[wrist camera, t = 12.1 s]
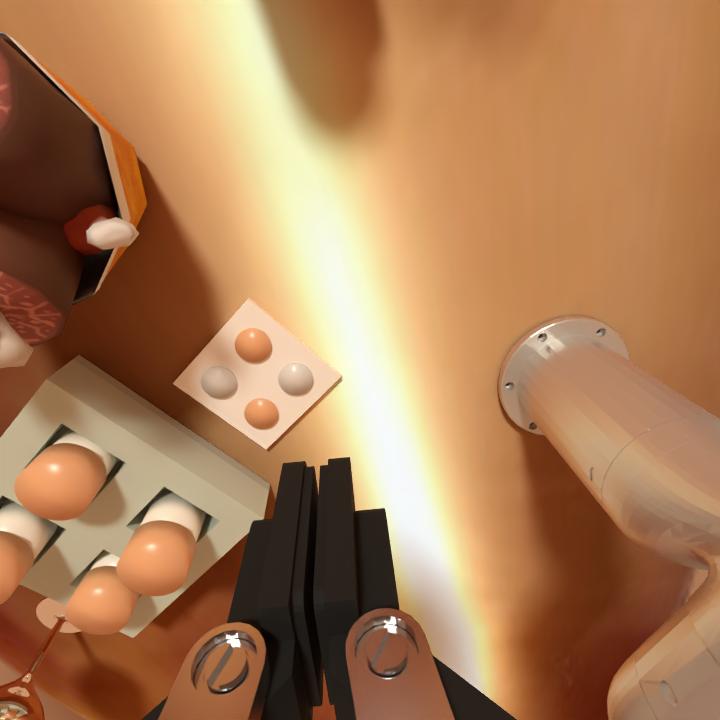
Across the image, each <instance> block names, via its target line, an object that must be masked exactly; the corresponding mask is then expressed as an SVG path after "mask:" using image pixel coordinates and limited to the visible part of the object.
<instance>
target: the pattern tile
mask: <svg viewBox="0 0 720 720" xmlns="http://www.w3.org/2000/svg"><path fill="white" fill-rule="evenodd" d="M340 377H341V374H340V373H339V372H338V371H337V370H336V369H334V368H333V367H332V366H331V365H330V364H328V363H327V362H326V361H325V360H324V359H322V358H321V357H320V356H319V355H318V354H316V353H315V352H314V351H313V350H312V349H310V348H309V347H308V346H307V345H306V344H304V343H303V342H302V341H301V340H300V339H298V338H297V337H296V336H295V335H294V334H292V333H291V332H290V331H289V330H288V329H286V328H285V327H284V326H283V325H282V324H280V323H279V322H278V321H277V320H276V319H274V318H273V317H272V316H271V315H270V314H268V313H267V312H266V311H265V310H264V309H262V308H261V307H260V306H259V305H258V304H256V303H255V302H254V301H253V300H252V299H251V298H248V299H247V300H246V301H245V302H244V304H243V305H242V306H241V307H240V308H239V309H238V310H237V311H236V312H235V314H234V315H233V316H232V317H231V318H230V319H229V320H228V321H227V323H226V324H225V325H224V326H223V327H222V328H221V329H220V330H219V332H218V333H217V334H216V335H215V336H214V337H213V338H212V339H211V341H210V342H209V343H208V344H207V345H206V346H205V347H204V348H203V350H202V351H201V352H200V353H199V354H198V355H197V356H196V357H195V359H194V360H193V361H192V362H191V363H190V364H189V365H188V366H187V368H186V369H185V370H184V371H183V372H182V373H181V374H180V375H179V377H178V378H177V379H176V380H175V381H174V382H173V384H174V385H175V386H177V387H178V388H180V389H181V390H182V391H184V392H185V393H187V394H188V395H189V396H191V397H192V398H194V399H195V400H196V401H198V402H199V403H201V404H202V405H204V406H205V407H206V408H208V409H209V410H211V411H212V412H213V413H215V414H216V415H218V416H219V417H221V418H222V419H223V420H225V421H226V422H228V423H229V424H230V425H232V426H233V427H235V428H236V429H238V430H239V431H240V432H242V433H243V434H245V435H246V436H247V437H249V438H250V439H252V440H253V441H254V442H256V443H257V444H259V445H260V446H262V447H263V448H264V449H267V448H268V447H269V446H270V445H271V444H272V443H274V442H275V441H276V440H277V439H278V438H279V437H280V436H281V435H282V434H283V433H284V432H285V431H286V430H287V429H288V428H289V427H290V426H291V425H292V424H293V423H294V422H295V421H296V420H297V419H298V418H299V417H300V416H301V415H302V414H303V413H304V412H305V411H306V410H307V409H308V408H309V407H311V406H312V405H313V404H314V403H315V402H316V401H317V400H318V399H319V398H320V397H321V396H322V395H323V394H324V393H325V392H326V391H327V390H328V389H329V388H330V387H331V386H332V385H333V384H334V383H335V382H336V381H337V380H338V379H339V378H340Z"/></svg>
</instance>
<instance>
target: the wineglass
mask: <svg viewBox="0 0 720 720" xmlns="http://www.w3.org/2000/svg"><path fill="white" fill-rule="evenodd" d="M65 608H66V606H65V605H63V604H61V603H59V602H56V601H54V600H52V599H50V598H48V597H46V598H45V599H43V600H42V601H41V602H40V603H39V604H38V606H37V609H36V614H37V617H38V619H39V620H40V621H41V622H42V623H43V624H44V625H45V626H47V627H48V628H50V629H52V630H51V632H50V633H49V635H48V637H47V638H46V640H45V642H44V644H43V645H42V647H41V649H40V650H39V652H38V654H37V655H36V657H35V658H34V660H33V662H32V663H31V665H30V667H29V668H28V670H27V671H26V673H25V674H24V675H23V676H22V677H20V678H19V679H17V680H15V681H13V682H10V683H8V684H5V685H2V686H0V720H45V717H44V710H43V706H42V704H41V701H40V699H39V697H38V695H37V693H36V691H35V689H34V686H33V676H34V674H35V672H36V670H37V668H38V667H39V665H40V663H41V661H42V660H43V658H44V656H45V654H46V653H47V651H48V649H49V648H50V646H51V644H52V643H53V641H54V639H55V638H56V636H57V634H58V633H59V632H64V633H75V632H80V631H81V630H79V629H78V628H76V627H75V626H73V625H72V624H71V623H70V622H69V621H68V619H67V617H66V614H65Z"/></svg>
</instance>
